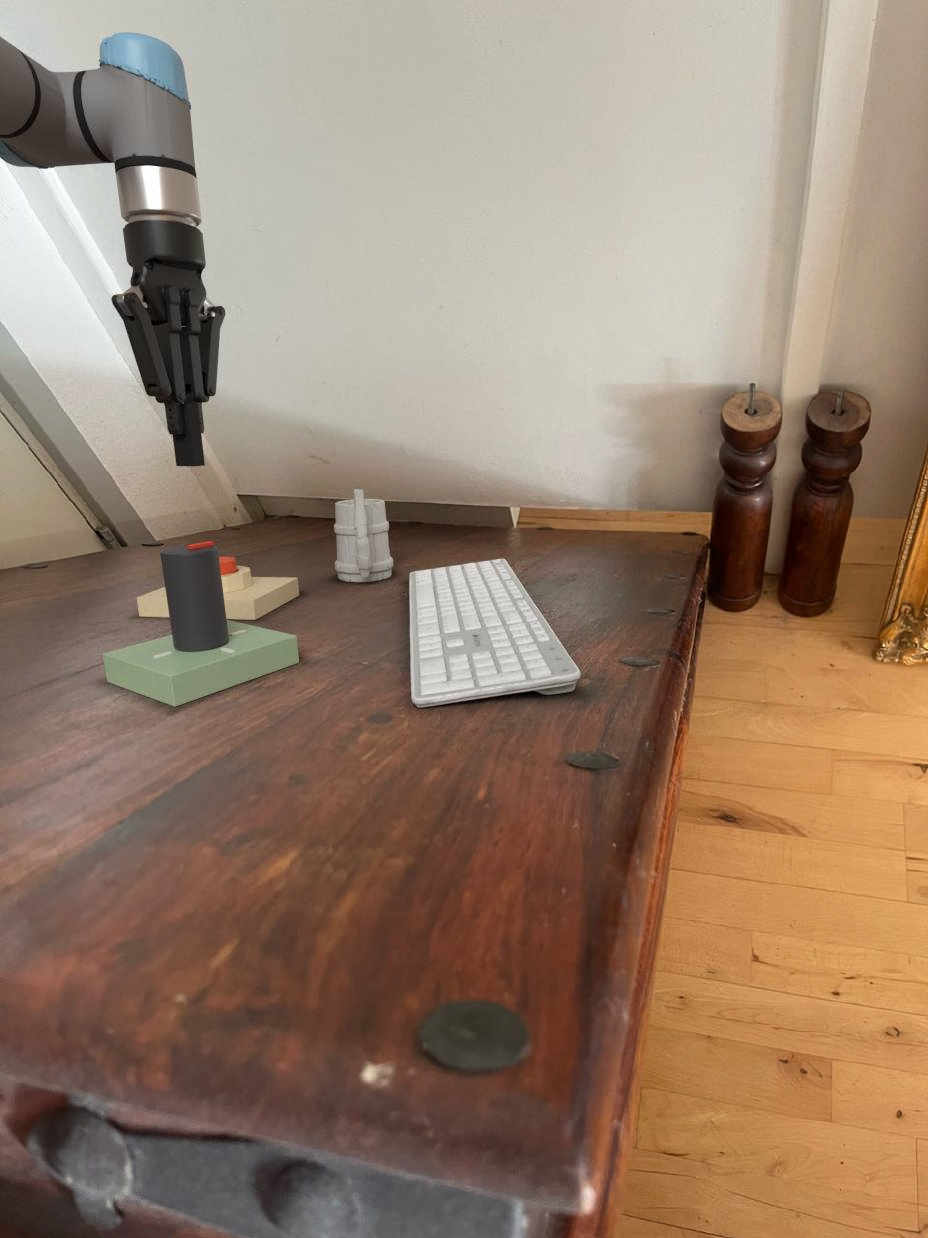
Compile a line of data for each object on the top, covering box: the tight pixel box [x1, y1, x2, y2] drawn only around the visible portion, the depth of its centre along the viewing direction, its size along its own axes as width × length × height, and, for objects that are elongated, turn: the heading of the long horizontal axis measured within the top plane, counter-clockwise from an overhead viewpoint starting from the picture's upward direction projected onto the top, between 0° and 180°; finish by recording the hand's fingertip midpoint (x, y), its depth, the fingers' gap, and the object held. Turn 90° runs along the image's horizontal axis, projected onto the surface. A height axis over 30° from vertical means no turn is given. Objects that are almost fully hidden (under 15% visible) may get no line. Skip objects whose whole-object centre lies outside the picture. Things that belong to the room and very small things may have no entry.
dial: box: [159, 540, 229, 651], centre depth 61 cm, size 4×4×8 cm
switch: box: [219, 556, 237, 575], centre depth 84 cm, size 4×4×2 cm
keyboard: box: [408, 558, 582, 708], centre depth 74 cm, size 44×12×2 cm, turn 4°
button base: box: [136, 565, 300, 621], centre depth 85 cm, size 14×11×4 cm
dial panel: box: [102, 619, 300, 708], centre depth 63 cm, size 10×12×3 cm
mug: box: [333, 488, 394, 583], centre depth 95 cm, size 8×12×12 cm, turn 8°
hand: (190, 465), depth 81 cm, fingers closed
